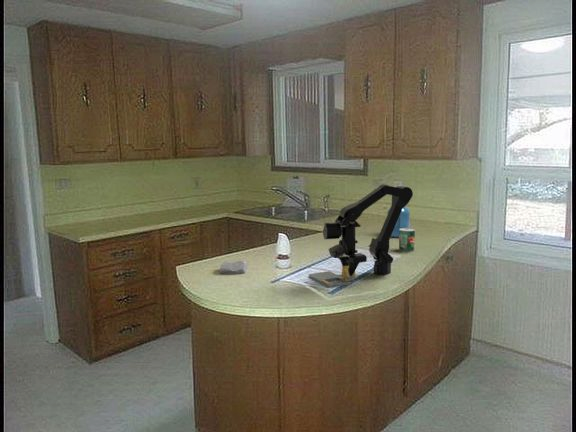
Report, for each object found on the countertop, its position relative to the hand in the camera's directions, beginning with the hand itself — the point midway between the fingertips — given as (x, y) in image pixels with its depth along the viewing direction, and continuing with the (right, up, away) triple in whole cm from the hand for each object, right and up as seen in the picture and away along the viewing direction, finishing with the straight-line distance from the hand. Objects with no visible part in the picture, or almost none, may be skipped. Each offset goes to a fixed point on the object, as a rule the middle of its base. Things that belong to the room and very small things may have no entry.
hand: (348, 274), depth 196 cm
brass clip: (0, -1, 0) cm, 1 cm away
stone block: (-50, -1, +14) cm, 52 cm away
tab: (0, -2, 0) cm, 2 cm away
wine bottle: (+40, +12, +84) cm, 94 cm away
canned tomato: (+36, +6, +48) cm, 60 cm away
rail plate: (-8, -3, -5) cm, 10 cm away
